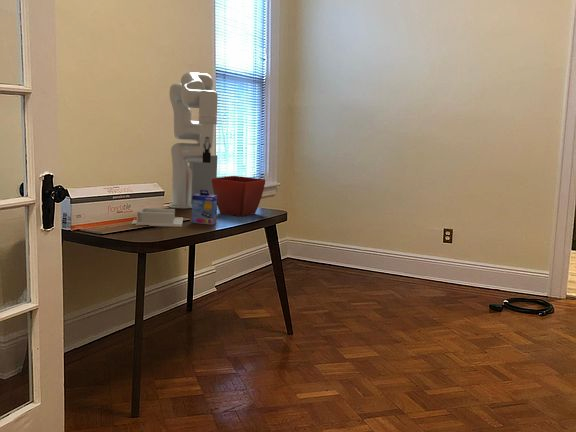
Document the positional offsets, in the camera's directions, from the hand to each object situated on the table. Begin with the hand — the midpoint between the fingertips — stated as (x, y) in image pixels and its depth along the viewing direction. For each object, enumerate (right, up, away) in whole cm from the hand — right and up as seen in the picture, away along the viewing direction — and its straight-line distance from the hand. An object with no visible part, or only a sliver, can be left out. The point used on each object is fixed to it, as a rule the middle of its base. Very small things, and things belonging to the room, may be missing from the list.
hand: (206, 161), depth 244 cm
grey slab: (-12, -16, +65) cm, 67 cm away
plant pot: (+10, -22, +33) cm, 41 cm away
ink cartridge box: (-2, -26, +4) cm, 27 cm away
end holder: (-20, -26, -1) cm, 33 cm away
